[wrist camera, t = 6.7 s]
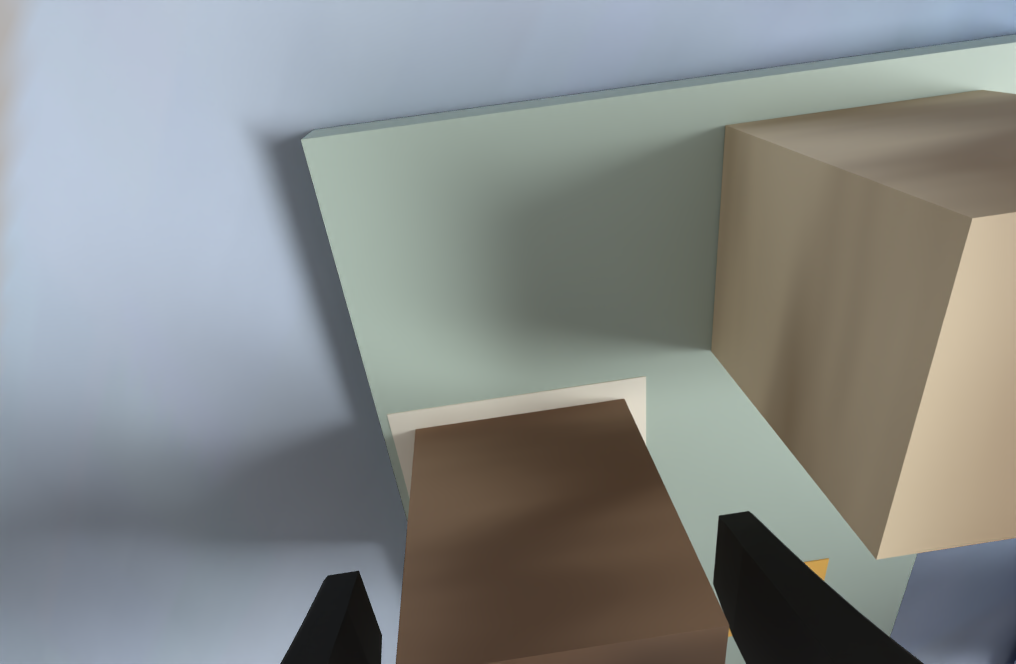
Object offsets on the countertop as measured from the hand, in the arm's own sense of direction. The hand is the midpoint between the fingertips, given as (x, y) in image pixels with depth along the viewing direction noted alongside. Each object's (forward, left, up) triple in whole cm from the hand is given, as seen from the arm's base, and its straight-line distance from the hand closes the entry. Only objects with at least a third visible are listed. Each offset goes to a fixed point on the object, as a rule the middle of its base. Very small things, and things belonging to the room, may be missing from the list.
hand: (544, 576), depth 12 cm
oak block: (-6, -6, -2) cm, 9 cm away
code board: (-4, 0, -3) cm, 5 cm away
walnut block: (0, 0, -2) cm, 2 cm away
